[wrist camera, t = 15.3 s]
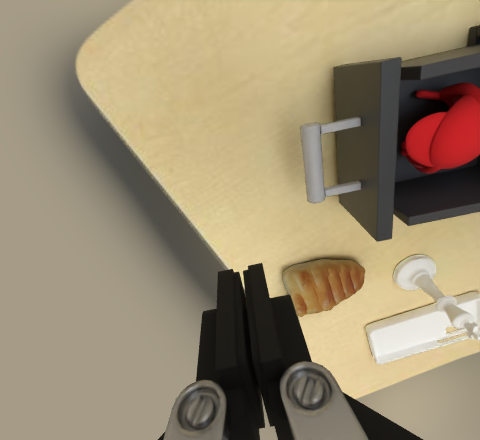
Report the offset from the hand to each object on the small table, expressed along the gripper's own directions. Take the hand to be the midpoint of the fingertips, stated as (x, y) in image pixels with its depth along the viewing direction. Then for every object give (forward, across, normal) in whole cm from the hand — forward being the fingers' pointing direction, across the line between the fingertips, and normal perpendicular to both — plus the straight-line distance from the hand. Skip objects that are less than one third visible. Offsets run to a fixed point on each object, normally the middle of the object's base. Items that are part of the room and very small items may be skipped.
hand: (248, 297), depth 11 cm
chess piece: (+19, -19, +18) cm, 32 cm away
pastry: (+19, -7, +16) cm, 25 cm away
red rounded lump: (+17, -17, -1) cm, 24 cm away
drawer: (+18, -14, 0) cm, 23 cm away
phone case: (+19, -21, +28) cm, 39 cm away
